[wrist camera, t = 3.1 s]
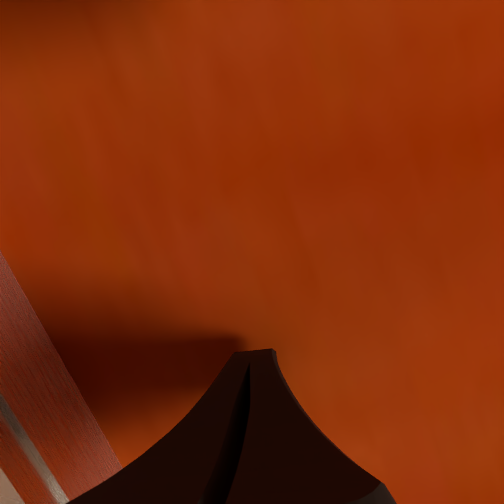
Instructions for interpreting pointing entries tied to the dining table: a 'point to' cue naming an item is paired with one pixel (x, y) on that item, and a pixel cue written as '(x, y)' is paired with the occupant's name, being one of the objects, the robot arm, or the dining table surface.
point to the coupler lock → (42, 413)
